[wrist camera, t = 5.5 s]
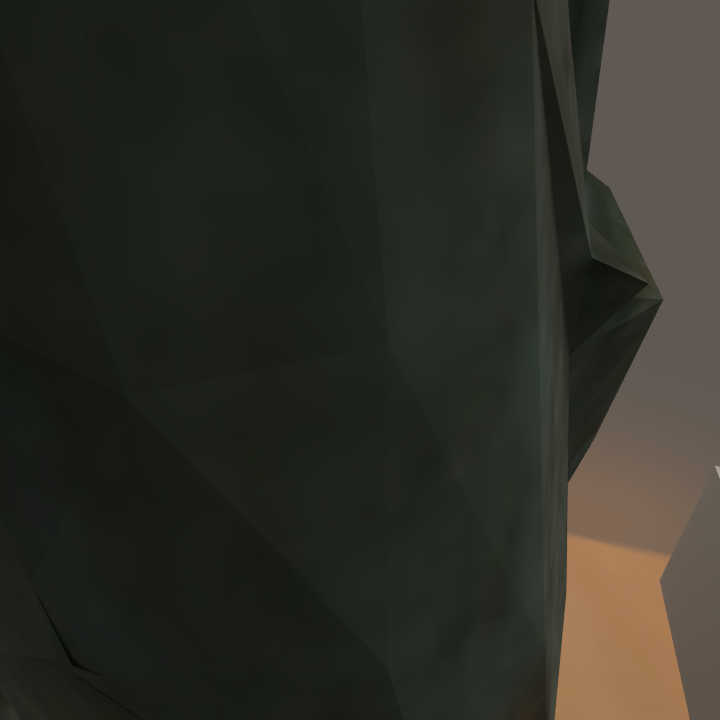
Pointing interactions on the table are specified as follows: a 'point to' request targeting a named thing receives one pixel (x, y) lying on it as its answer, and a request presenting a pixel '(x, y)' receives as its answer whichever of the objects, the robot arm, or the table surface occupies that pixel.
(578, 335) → the figurine
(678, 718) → the table surface
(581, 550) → the table surface
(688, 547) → the robot arm
